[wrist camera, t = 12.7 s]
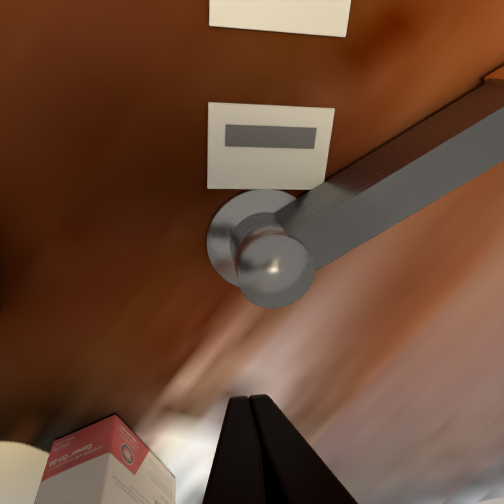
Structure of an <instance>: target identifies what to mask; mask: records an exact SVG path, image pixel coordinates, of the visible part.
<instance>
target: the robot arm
mask: <svg viewBox="0 0 504 504" xmlns="http://www.w3.org/2000/svg"><path fill="white" fill-rule="evenodd" d="M202 504H358V503H357V502H356V500H355V499H354V498H353V497H352V496H351V494H350V493H349V492H348V491H347V489H346V488H345V487H344V486H343V485H342V483H341V482H340V481H339V480H338V479H337V477H336V476H335V475H334V474H333V473H332V471H331V470H330V469H329V468H328V467H327V465H326V464H325V463H324V462H323V461H322V459H321V458H320V457H319V456H318V455H317V453H316V452H315V451H314V450H313V449H312V447H311V446H310V445H309V444H308V443H307V441H306V440H305V439H304V438H303V437H302V435H301V434H300V433H299V432H298V430H297V429H296V428H295V427H294V426H293V424H292V423H291V422H290V421H289V420H288V418H287V417H286V416H285V415H284V414H283V412H282V411H281V410H280V409H279V408H278V406H277V405H276V404H275V403H274V402H273V400H272V399H271V398H270V397H269V396H268V395H266V394H261V395H251V396H250V397H249V398H248V397H247V396H237V397H231V398H230V399H229V402H228V405H227V409H226V413H225V417H224V421H223V425H222V429H221V432H220V436H219V440H218V444H217V448H216V452H215V456H214V460H213V464H212V467H211V471H210V475H209V479H208V483H207V487H206V491H205V495H204V499H203V502H202Z"/></svg>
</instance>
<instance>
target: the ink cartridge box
mask: <svg viewBox="0 0 504 504" xmlns="http://www.w3.org/2000/svg"><path fill="white" fill-rule="evenodd" d="M34 504H175V478H174V476H173V475H172V474H171V473H170V472H169V471H168V470H167V469H166V467H165V466H164V465H163V464H162V463H161V462H160V461H159V460H158V459H157V458H156V457H155V456H154V455H153V454H152V452H151V451H150V450H149V449H148V448H147V447H146V446H145V445H144V444H143V443H142V442H141V441H140V440H139V438H138V437H136V435H135V434H134V433H133V432H132V431H131V430H130V429H129V428H128V426H127V425H126V424H125V423H124V422H123V421H122V420H121V419H120V418H119V417H117V416H116V415H113V416H111V417H108V418H106V419H104V420H102V421H99V422H97V423H95V424H93V425H90V426H88V427H86V428H83V429H81V430H79V431H77V432H74V433H72V434H70V435H67V436H65V437H63V438H60V439H58V440H55V441H54V443H53V445H52V448H51V451H50V455H49V458H48V461H47V464H46V467H45V470H44V474H43V477H42V480H41V483H40V486H39V490H38V493H37V496H36V499H35V502H34Z"/></svg>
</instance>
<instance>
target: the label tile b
mask: <svg viewBox="0 0 504 504" xmlns="http://www.w3.org/2000/svg"><path fill="white" fill-rule="evenodd" d="M350 4H351V0H209V26H214V27H226V28H238V29H250V30H262V31H274V32H286V33H297V34H309V35H321V36H333V37H346V31H347V24H348V17H349V10H350Z"/></svg>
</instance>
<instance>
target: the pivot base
mask: <svg viewBox="0 0 504 504" xmlns="http://www.w3.org/2000/svg"><path fill="white" fill-rule="evenodd" d="M296 199H297V198H296V197H295V196H293V195H292V194H290V193H288V192H285V191H283V190H280V189H250V190H247V191H244V192H241V193H239V194H237V195H235V196H234V197H232V198H230V199H229V200H228V201H227V202H225V203H224V204H223V205H222V206H221V207H220V208H219V209H218V211H217V212H216V214H215V215H214V217H213V219H212V220H211V223H210V225H209V228H208V232H207V251H208V256H209V259H210V262H211V264H212V265H213V267H214V269H215V270H216V271H217V273H218V274H219V275H220V276H221V277H222V278H223V279H225V280H226V281H228V282H229V283H231V284H233V285H235V286H238V287H240V286H239V282H238V278H237V274H236V271H235V267H234V263H233V259H232V256H231V252H230V238H231V235H232V233H233V231H234V229H235V227H236V226H237V225H238V224H239V223H240V222H241V221H242V220H243V219H245V218H246V217H248V216H250V215H253V214H256V213H261V212H270V213H275V212H276V211H278V210H279V209H281V208H283V207H284V206H286V205H288V204H289V203H291V202H293V201H294V200H296Z"/></svg>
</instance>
